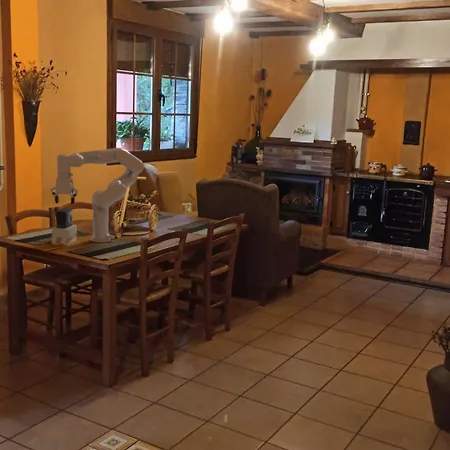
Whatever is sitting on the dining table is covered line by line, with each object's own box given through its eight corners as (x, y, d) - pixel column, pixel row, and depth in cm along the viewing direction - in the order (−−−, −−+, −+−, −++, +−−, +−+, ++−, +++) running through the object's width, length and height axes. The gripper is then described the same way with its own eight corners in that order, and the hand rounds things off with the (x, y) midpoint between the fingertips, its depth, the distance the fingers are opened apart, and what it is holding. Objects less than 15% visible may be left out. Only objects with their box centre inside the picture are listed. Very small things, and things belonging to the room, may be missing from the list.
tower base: (76, 240, 369) (76, 232, 368) (67, 245, 356) (67, 237, 355) (61, 239, 370) (60, 231, 369) (51, 244, 357) (51, 236, 356)
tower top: (76, 232, 368) (76, 225, 367) (68, 237, 355) (68, 229, 353) (61, 231, 369) (61, 223, 368) (52, 236, 356) (52, 228, 355)
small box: (66, 228, 356) (65, 211, 353) (55, 228, 356) (55, 210, 354) (73, 225, 366) (72, 208, 364) (62, 224, 367) (62, 207, 364)
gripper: (80, 175, 357) (80, 203, 361) (52, 173, 359) (53, 201, 363) (75, 176, 350) (76, 205, 354) (47, 175, 352) (48, 203, 356)
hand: (64, 203), depth 358 cm, fingers open, 9 cm apart
